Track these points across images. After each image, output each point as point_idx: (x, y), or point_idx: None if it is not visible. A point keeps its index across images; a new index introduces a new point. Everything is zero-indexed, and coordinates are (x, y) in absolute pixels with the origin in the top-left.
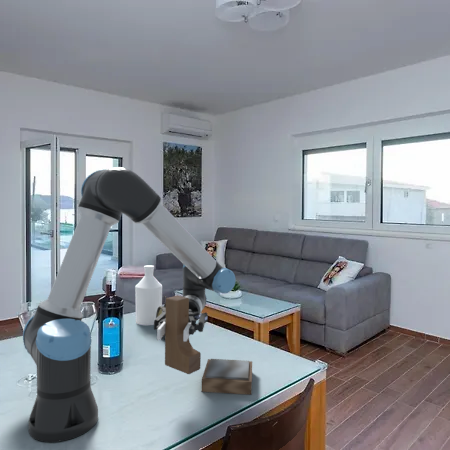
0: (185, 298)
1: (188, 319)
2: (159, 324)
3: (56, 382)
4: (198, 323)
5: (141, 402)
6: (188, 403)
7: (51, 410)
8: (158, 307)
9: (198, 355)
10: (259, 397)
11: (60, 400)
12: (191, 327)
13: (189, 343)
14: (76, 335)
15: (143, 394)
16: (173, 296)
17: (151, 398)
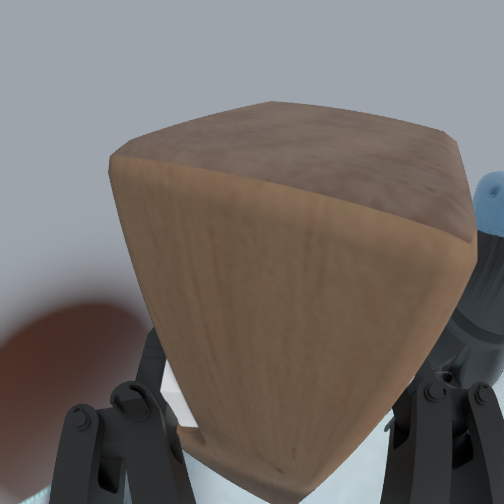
0: (169, 127)
1: (178, 384)
2: (424, 364)
3: None
4: (102, 422)
5: (365, 464)
6: (231, 485)
7: None
8: None
9: None
10: (47, 494)
11: None
12: (162, 353)
13: (201, 434)
14: (489, 178)
15: (378, 500)
16: (438, 152)
17: (347, 489)
